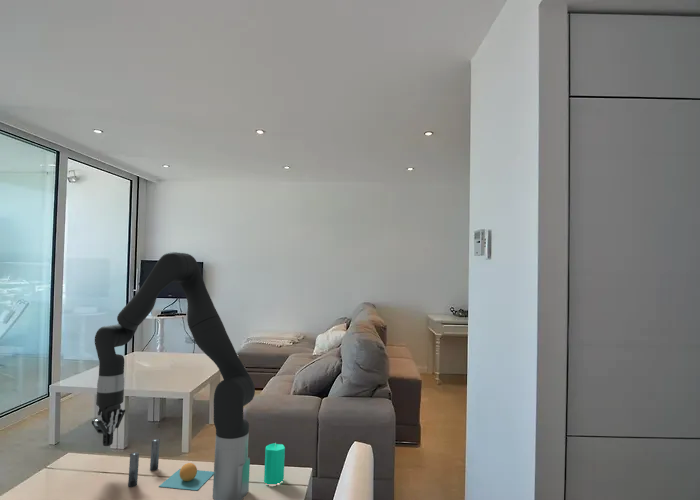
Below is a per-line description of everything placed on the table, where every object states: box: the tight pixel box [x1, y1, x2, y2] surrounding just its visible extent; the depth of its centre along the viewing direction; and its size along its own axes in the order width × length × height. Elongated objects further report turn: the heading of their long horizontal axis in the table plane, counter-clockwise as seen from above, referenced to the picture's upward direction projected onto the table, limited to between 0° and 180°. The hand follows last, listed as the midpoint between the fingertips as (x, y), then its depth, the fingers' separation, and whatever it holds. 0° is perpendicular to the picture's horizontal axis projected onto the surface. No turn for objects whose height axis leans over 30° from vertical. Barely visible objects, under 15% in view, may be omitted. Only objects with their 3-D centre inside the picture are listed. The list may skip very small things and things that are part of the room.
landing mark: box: [158, 468, 214, 492], centre depth 131 cm, size 12×12×1 cm
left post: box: [127, 451, 140, 488], centre depth 127 cm, size 2×2×9 cm
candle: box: [263, 441, 286, 484], centre depth 132 cm, size 6×6×12 cm
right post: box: [149, 438, 161, 472], centre depth 138 cm, size 2×2×9 cm
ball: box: [179, 462, 198, 481], centre depth 131 cm, size 5×5×5 cm
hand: (107, 445), depth 134 cm, fingers closed
